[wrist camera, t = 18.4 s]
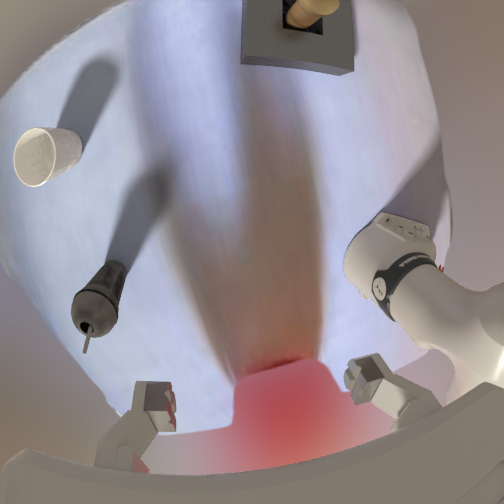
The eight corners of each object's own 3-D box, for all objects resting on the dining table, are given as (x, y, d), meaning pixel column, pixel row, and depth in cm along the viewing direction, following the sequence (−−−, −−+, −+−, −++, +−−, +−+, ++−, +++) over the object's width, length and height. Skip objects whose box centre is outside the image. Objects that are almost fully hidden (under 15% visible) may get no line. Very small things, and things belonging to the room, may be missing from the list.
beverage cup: (92, 254, 42) (42, 327, 24) (129, 251, 43) (91, 329, 25) (101, 290, 45) (64, 369, 27) (137, 289, 46) (111, 373, 28)
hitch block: (336, 0, 29) (349, -10, 25) (339, 75, 36) (354, 71, 31) (243, -16, 27) (247, -30, 22) (240, 64, 33) (245, 55, 29)
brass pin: (306, 16, 31) (338, -12, 20) (307, 40, 33) (340, 16, 22) (276, 11, 30) (300, -21, 19) (276, 36, 32) (301, 7, 21)
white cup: (92, 161, 35) (63, 170, 26) (55, 181, 35) (23, 196, 26) (78, 117, 32) (46, 116, 23) (42, 139, 32) (7, 145, 23)
